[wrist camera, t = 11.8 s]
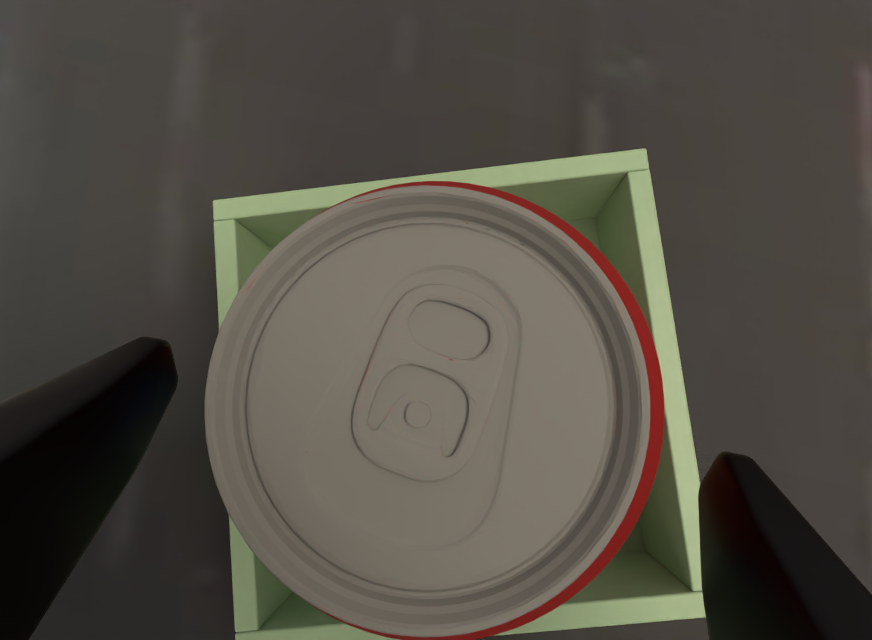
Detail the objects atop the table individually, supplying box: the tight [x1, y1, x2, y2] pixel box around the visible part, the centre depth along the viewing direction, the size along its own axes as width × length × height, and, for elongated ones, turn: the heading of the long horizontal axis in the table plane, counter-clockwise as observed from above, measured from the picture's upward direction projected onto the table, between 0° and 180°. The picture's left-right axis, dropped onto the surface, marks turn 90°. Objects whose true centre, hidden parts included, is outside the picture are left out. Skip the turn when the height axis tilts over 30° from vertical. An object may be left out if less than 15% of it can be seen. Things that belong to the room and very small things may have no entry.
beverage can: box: [205, 181, 664, 640], centre depth 13 cm, size 7×7×12 cm
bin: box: [213, 149, 706, 640], centre depth 17 cm, size 12×12×4 cm
